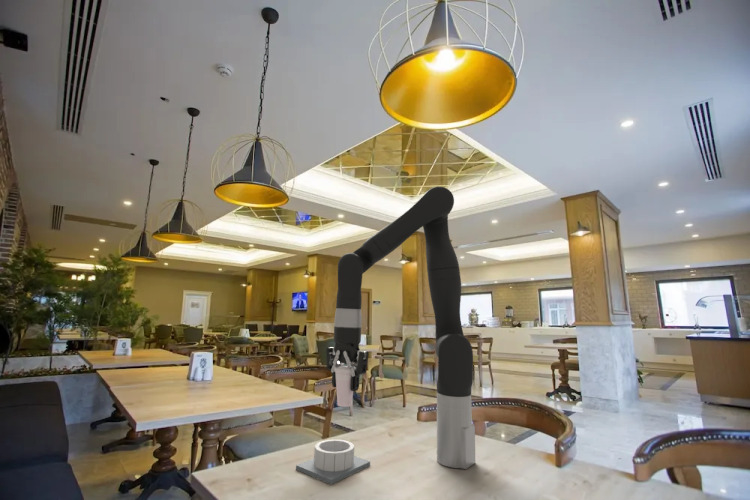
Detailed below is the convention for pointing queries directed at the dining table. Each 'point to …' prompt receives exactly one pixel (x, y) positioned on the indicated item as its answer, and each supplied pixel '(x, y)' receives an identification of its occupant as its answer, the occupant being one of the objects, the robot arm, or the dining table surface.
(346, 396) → the smoothie
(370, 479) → the dining table surface
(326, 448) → the holder
